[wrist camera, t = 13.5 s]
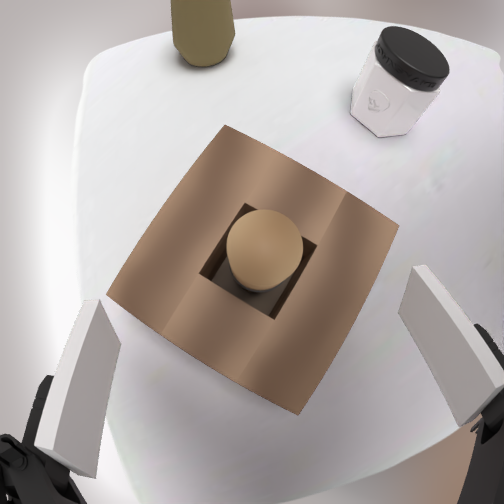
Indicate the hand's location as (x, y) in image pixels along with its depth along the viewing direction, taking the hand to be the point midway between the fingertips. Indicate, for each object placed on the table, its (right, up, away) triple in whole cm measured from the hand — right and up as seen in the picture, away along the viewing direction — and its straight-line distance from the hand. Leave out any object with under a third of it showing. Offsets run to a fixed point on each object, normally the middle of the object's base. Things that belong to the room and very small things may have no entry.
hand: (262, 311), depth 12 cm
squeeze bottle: (-7, +29, +23) cm, 38 cm away
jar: (+16, +20, +22) cm, 34 cm away
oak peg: (0, 0, +16) cm, 16 cm away
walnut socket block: (0, 0, +17) cm, 17 cm away
